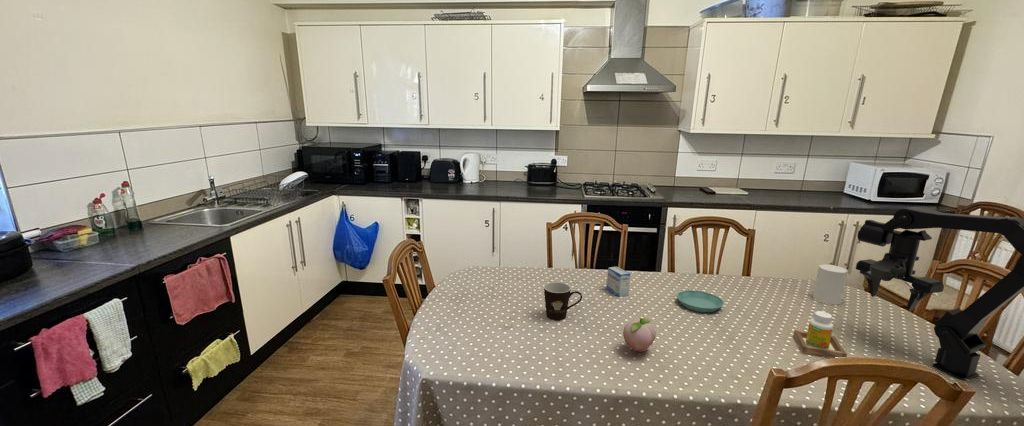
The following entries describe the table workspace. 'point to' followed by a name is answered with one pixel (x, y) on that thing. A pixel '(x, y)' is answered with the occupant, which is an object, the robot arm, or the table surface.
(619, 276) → the medicine box
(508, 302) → the table surface
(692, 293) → the saucer
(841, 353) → the tray
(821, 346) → the supplement bottle
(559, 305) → the coffee mug
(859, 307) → the table surface
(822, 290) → the cup
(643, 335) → the decorative fruit
